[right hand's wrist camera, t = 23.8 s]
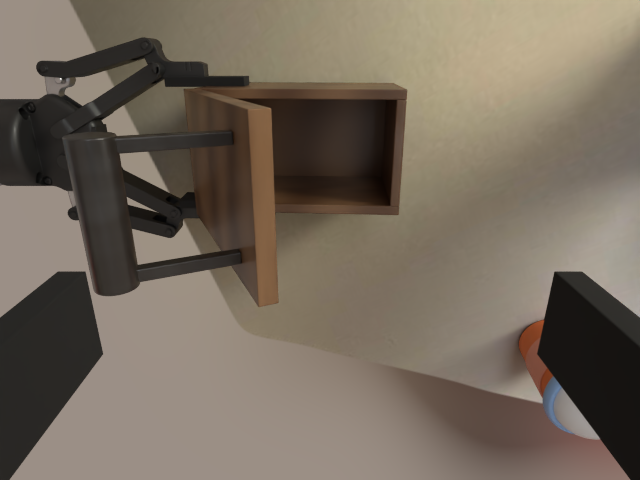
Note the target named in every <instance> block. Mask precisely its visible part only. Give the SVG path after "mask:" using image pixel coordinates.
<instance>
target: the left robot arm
mask: <svg viewBox="0 0 640 480" xmlns="http://www.w3.org/2000/svg"><path fill="white" fill-rule="evenodd" d="M144 58H145V60H146V62H147V64H148V65H147V66H146V67H144V68H142V69H141V70H139V71H138V72H136V73H135V74H133V75H132V76H130V77H129V78H127V79H126V80H124V81H123V82H121V83H120V84H118V85H116V86H115V87H113V88H112V89H110V90H109V91H107V92H106V93H104V94H103V95H101V96H100V97H98V98H97V99H95V100H94V101H92V102H90V103H87V104H86V105H84V106H82V105H80V104H78V103H77V102H75V101H74V100H72V99H71V98H69V97H68V96H66V95H64V92H65V89H66V88H68V87H71V86H73V85H74V84H75V81H76V79H75V77H85V76H89V75H92V74H96V73H99V72H102V71H105V70H108V69H112V68H115V67H118V66H121V65H124V64H128V63H131V62H134V61H137V60H140V59H144ZM36 69H37V71H38V73H39V74H40V75H42V76H45V82H46V89H47V95H45V96H43V97H42V98H40V99H0V185H7V186H57V187H59V188H62V189H64V190H66V191H68V194H69V197H70V201H71V204H72V208H70V209H69V210H68V215H69V217H70V218H71V219H73V220H79V217H78V212H77V208H76V203H75V198H74V193H73V188H72V184H71V179H70V174H69V169H68V164H67V160H66V155H65V150H64V145H63V140H62V137H63V136H66V135H69V134H75V133H84V132H107V128H106V124H103V123H102V121H101V120H103V119H104V118H106V117H107V116H109V115H110V114H112V113H113V112H114V111H115V110H117V109H118V108H120V107H121V106H123V105H125V104H126V103H128V102H129V101H131V100H132V99H134V98H135V97H137V96H139V95H140V94H142V93H143V92H145V91H146V90H148V89H149V88H151V87H153V86H154V85H156V84H157V83H159V82H160V81H162V80H163V79H165V87H206V86H247V85H249V76H208V65H207V64H206V63H203V62H172V61H169V60H168V59H167V58H166V57H165V55H164V53H163V51H162V45H161V43H160V42H159V41H158V40H156V39H151V38H139V39H136V40H133V41H130V42H127V43H124V44H121V45H117V46H114V47H111V48H108V49H105V50H102V51H99V52H95V53H92V54H89V55H86V56H83V57H80V58H77V59H74V60H70V61H67V62H65V61H40V62H38V63H37V66H36ZM122 173H123V179H124V185H125V191H126V197H128V198H130V199H132V200H134V201H136V202H138V203H141V204H143V205H145V206H147V207H149V208H151V209H153V210H155V211H157V212H159V213H157V212H153V211H149V210H146V209H142V208H138V207H134V206H130V205H128V210H129V216H130V222H131V228H132V229H136V230H140V231H144V232H148V233H152V234H156V235H160V236H164V237H167V238H172V237H174V236H175V235H176V233H177V232H178V231H179V230H180V229H181V227H182V226H183V219H184V218H199V216H198V215H197V210H196V200H195V192H187V193H186V194H185V195H184V196H183V197H182V198H181V199H180V198H178V197H176V196H174V195H172V194H170V193H168V192H166V191H164V190H162V189H160V188H158V187H156V186H154V185H152V184H150V183H148V182H147V181H145V180H143V179H141V178H139V177H137V176H135V175H133V174H131V173H129V172H127V171H125V170H123V168H122Z"/></svg>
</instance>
